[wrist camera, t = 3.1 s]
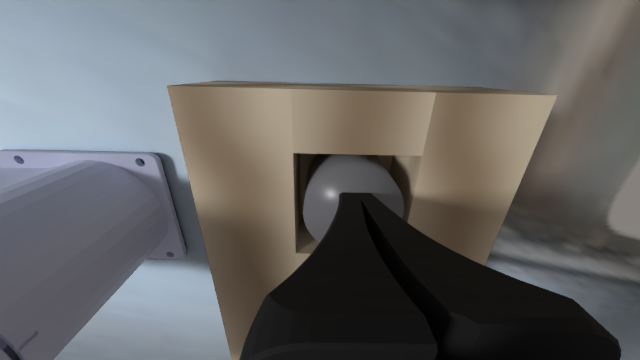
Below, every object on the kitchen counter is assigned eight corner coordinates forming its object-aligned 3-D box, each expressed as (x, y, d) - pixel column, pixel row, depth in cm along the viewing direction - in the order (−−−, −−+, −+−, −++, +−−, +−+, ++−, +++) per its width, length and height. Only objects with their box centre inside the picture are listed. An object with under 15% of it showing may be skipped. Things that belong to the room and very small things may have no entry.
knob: (306, 211, 14) (303, 251, 11) (307, 141, 12) (302, 165, 9) (378, 212, 14) (395, 253, 11) (389, 142, 12) (413, 167, 9)
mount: (261, 373, 24) (249, 434, 20) (217, 80, 12) (167, 85, 8) (395, 375, 24) (411, 436, 20) (480, 87, 12) (557, 95, 8)
